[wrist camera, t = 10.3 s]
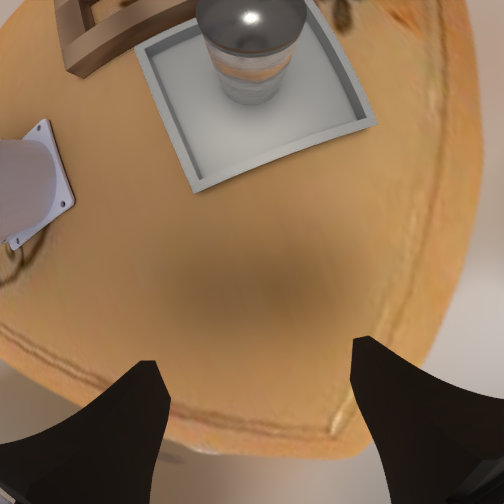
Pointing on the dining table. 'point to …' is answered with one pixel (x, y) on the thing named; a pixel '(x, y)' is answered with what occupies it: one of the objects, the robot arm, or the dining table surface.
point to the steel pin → (251, 44)
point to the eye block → (112, 29)
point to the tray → (251, 116)
